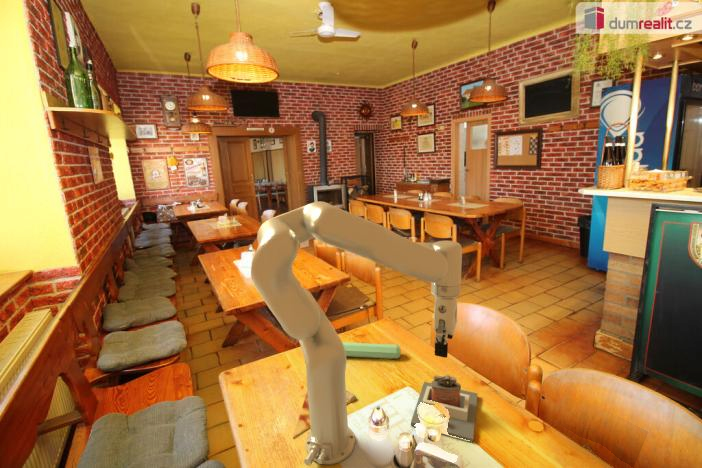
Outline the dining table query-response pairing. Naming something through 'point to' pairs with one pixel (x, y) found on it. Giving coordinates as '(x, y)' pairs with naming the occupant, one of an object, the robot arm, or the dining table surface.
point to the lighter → (446, 390)
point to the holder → (453, 412)
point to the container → (372, 350)
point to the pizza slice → (305, 417)
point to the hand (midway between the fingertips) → (443, 346)
